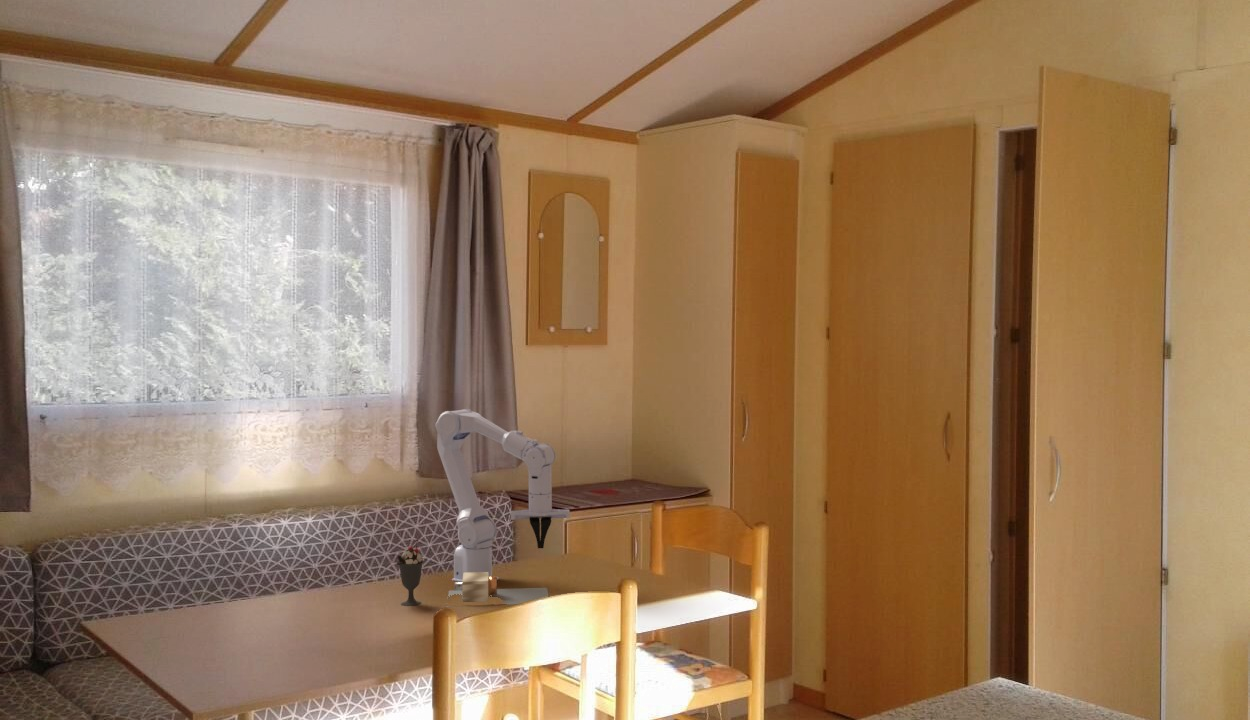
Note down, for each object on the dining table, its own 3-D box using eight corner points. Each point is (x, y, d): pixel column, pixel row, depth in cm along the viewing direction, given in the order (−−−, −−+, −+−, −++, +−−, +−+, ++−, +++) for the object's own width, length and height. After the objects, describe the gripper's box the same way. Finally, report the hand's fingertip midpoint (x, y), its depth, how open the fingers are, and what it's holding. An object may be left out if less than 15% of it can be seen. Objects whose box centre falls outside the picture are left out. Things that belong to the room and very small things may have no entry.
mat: (446, 607, 261) (446, 606, 261) (449, 591, 277) (449, 590, 277) (549, 604, 263) (549, 603, 263) (547, 588, 279) (547, 587, 279)
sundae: (428, 601, 267) (428, 538, 266) (420, 608, 260) (420, 543, 260) (401, 600, 267) (401, 537, 267) (393, 607, 261) (392, 543, 260)
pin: (454, 597, 266) (454, 579, 266) (455, 593, 271) (454, 575, 271) (496, 596, 268) (496, 578, 267) (496, 592, 272) (496, 574, 272)
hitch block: (462, 603, 264) (462, 581, 264) (463, 593, 274) (463, 572, 274) (488, 602, 265) (488, 581, 264) (488, 592, 275) (488, 571, 274)
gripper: (510, 496, 275) (511, 551, 275) (570, 494, 277) (570, 549, 277) (510, 491, 282) (511, 546, 282) (568, 490, 284) (568, 544, 284)
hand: (540, 547), depth 280 cm, fingers closed
